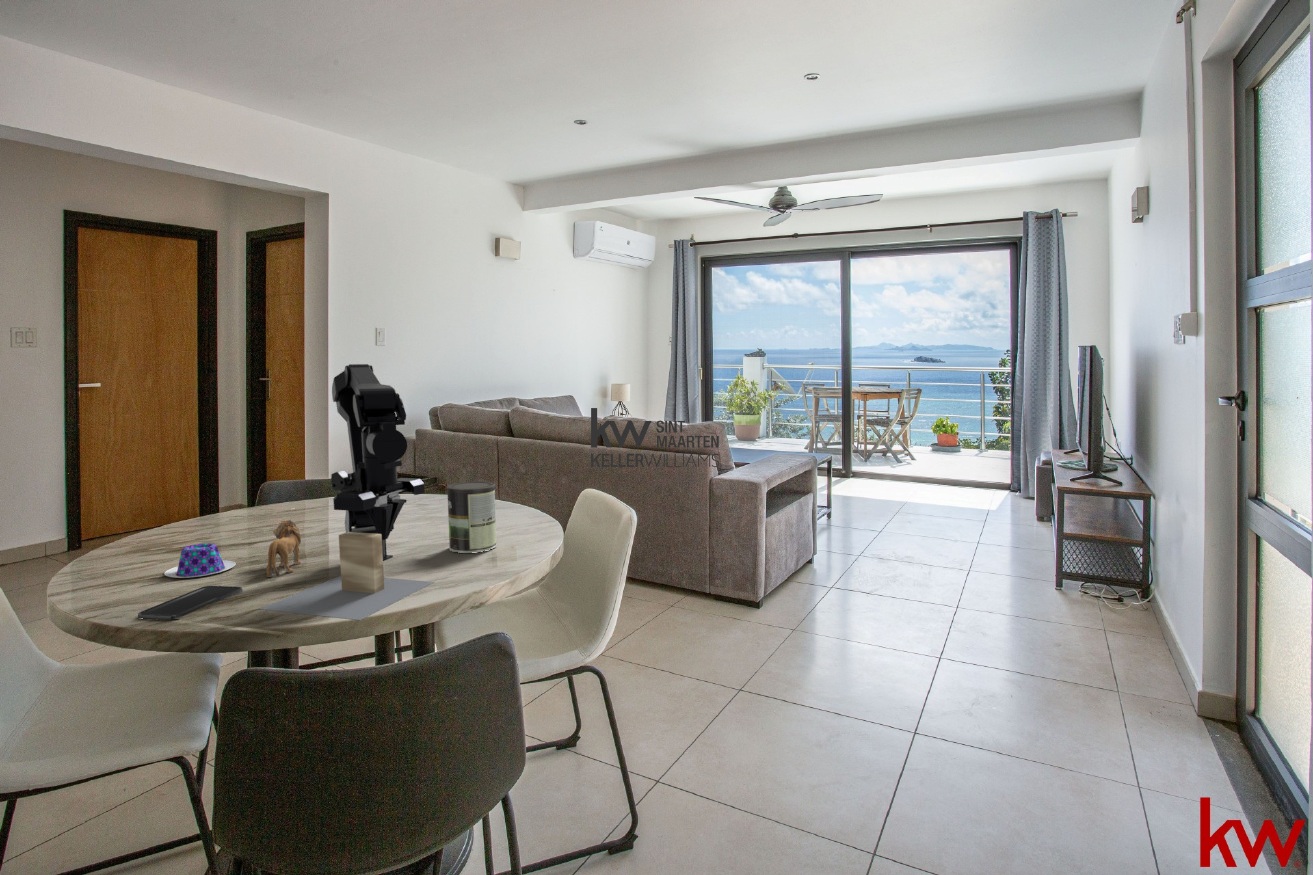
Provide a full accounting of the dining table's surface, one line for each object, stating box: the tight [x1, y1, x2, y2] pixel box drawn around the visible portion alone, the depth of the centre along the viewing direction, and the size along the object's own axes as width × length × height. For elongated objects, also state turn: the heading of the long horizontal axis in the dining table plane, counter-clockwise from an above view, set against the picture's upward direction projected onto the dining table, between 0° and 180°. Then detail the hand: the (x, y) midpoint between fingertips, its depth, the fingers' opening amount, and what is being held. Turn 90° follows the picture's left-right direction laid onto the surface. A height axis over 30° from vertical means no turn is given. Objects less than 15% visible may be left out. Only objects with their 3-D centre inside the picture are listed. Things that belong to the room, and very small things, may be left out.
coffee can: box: [446, 480, 497, 554], centre depth 154 cm, size 10×10×14 cm
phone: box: [137, 585, 243, 622], centre depth 120 cm, size 8×1×15 cm
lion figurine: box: [266, 519, 302, 578], centre depth 140 cm, size 15×5×9 cm, turn 20°
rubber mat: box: [258, 575, 435, 621], centre depth 123 cm, size 20×20×1 cm
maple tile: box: [338, 532, 385, 593], centre depth 125 cm, size 2×7×10 cm, turn 73°
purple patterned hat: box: [163, 542, 236, 579], centre depth 140 cm, size 12×12×5 cm
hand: (383, 539), depth 131 cm, fingers closed
